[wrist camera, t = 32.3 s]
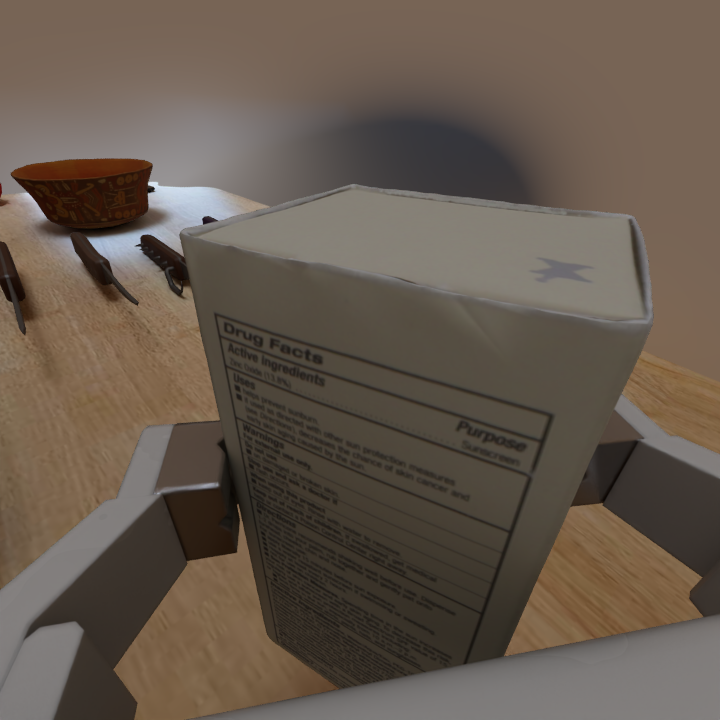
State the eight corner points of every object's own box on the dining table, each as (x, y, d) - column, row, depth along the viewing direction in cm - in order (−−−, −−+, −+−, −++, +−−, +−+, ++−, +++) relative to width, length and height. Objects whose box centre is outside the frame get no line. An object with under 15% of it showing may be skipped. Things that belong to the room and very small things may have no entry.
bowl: (5, 241, 66) (-25, 174, 60) (74, 208, 83) (55, 154, 78) (139, 243, 67) (121, 178, 62) (179, 210, 85) (168, 157, 79)
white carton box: (503, 583, 11) (662, 214, 6) (454, 774, 8) (704, 352, 3) (344, 503, 13) (351, 173, 8) (254, 631, 10) (159, 221, 5)
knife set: (34, 388, 33) (-7, 301, 29) (5, 278, 55) (-22, 219, 51) (360, 293, 53) (362, 233, 49) (245, 239, 74) (239, 194, 70)
